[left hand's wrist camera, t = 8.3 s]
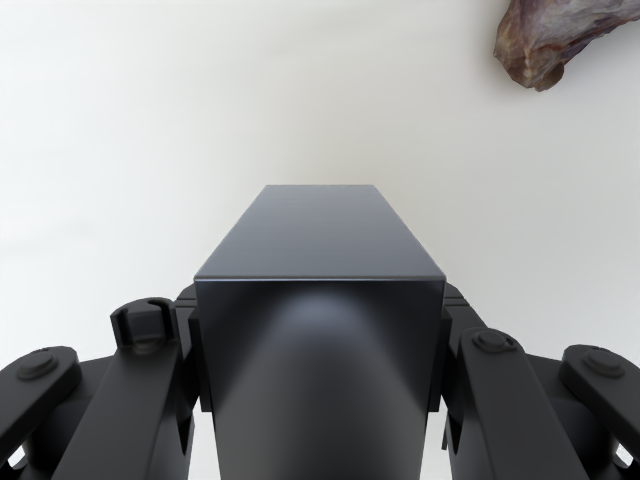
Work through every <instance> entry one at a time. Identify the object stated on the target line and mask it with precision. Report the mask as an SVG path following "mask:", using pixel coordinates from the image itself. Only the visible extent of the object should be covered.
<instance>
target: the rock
mask: <svg viewBox="0 0 640 480" xmlns="http://www.w3.org/2000/svg"><path fill="white" fill-rule="evenodd" d="M638 19H640V0H512V1H511V3H510V6H509V8H508V10H507V12H506V14H505V16H504V17H503V19H502V21H501V22H500V24H499V26H498V31H497V39H496V45H495V50H494V54H493V56H494V57H496V58H498V59H499V60H500V61H501V63H502V65H503V67H504V68H505V70H506V71H507V72H508V74H509V75H510V77H511V78H512V80H514V81H516V82H517V83H519V84H521V85H522V86H524V87H525V88H532V87H535V90H536V91H538V92H541V91H543V90H547V89H549V88H551V87H552V86H554V85H555V84H556V83H557V82H558V81H559V80H560V79H561V78H562V76H563V73H564V65H565V64H566V63H568V62H569V61H570V60H571V59H572V58H573V57H574V56H575V55H576V54H578V53H580V52H581V51H582V50H583V49H584V48H585V47H586V46H587V45H588V44H589V43H590V42H591V41H592V40H593V39H596V38H599V37H602V36H603V35H604V34H607V33H610V32H611V31H612V30H614V29H615V28H616V27H617V26H619V25H623V24H625V23H627V22H629V21H636V20H638Z"/></svg>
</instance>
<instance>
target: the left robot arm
mask: <svg viewBox="0 0 640 480" xmlns="http://www.w3.org/2000/svg"><path fill="white" fill-rule="evenodd" d="M110 319H111V323H112V327H113V331H114V335H115V339H116V343H117V350H116V352H115V354H114V355H113V356H109V357H104V358H99V359H94V360H89V361H84V362H79V360H78V356H77V353H76V351H75V350H73V349H72V348H71V347H65V346H57V347H47V348H42V349H41V350H40V349H39V350H36V351H33V352H31V353H29V354H27V355H25V356H23V357H20V358H19V359H17V360H15V361H14V362H12V363H11V364H9V365H8V366H6V367H5V368H4V369H2V370H1V371H0V480H188V473H189V466H190V458H191V450H192V443H193V435H194V428H195V425H194V417H193V408H194V406H195V404H196V401H197V399H198V397H199V398H200V404H201V411H202V412H212V411H211V403H210V396H209V389H208V382H207V374H206V367H205V360H204V352H203V345H202V338H201V331H200V323H199V316H198V309H197V302H196V294H195V287H194V283H193V284H192V285H190V286H188V287H187V288H185V289H184V290H183V291H182V292H181V293H180V295H179V296H178V297H177V300H175V301H174V302H173V301H171V300H170V299H166V298H162V297H151V298H145V299H139V300H136V301H133V302H130V303H127V304H125V305H123V306H122V307H120V308H118V309H116V310H115V311H114V312H113V313H112V314H111V315H110ZM441 394H442V397H443V399H444V401H445V404H446V406H447V408H448V411H447V417H446V423H445V429H444V435H443V441H442V449H443V450H446V449H447V443H448V450H449V457H450V465H451V472H452V480H640V369H639V368H638V367H637V366H636V365H634V364H633V363H631V362H630V361H628V360H627V359H625V358H623V357H622V356H620V355H618V354H615V353H613V352H611V351H609V350H607V349H604V348H599V347H597V346H590V345H580V344H579V345H572V346H569V347H568V348H567V349H565V350H564V354H563V357H562V361H559V360H554V359H549V358H544V357H539V356H534V355H530V354H526V353H525V351H524V349H523V348H522V346H521V345H520V344H519V343H518V341H517V340H515V339H514V338H512V337H511V336H509V335H508V334H506V333H503V332H501V331H498V330H496V329H491V328H488V327H487V326H486V325H485V323H484V322H483V321H482V320H481V318H480V317H479V316H478V315H477V313H476V312H475V311H474V309H473V308H472V307H471V306H470V304H469V303H468V302H467V301H466V299H464V297H463V296H462V294H461V293H460V292H459V290H458V289H457V288H455V287H454V286H452V285H451V284H449V283H447V282H446V288H445V295H444V302H443V310H442V317H441V324H440V332H439V339H438V346H437V354H436V361H435V369H434V376H433V383H432V391H431V398H430V405H429V412H439V406H440V399H441ZM619 444H621V445H622V446H623V447H624V448H625V449H626V450H627V451H628V452H629V453H630V455H631V456H632V457H633V461H632V463H631V465H630V466H628V465H627V464H625V463H624V462H623V461H622V460H621V459H620V458H619V457H618V455H617V454H616V451H617V449H618V446H619ZM21 445H22V448H23V450H24V453H25V456H24V457H23V458H22V459H21V460H20V461H19V462H18V463H17V464H16V465H14V466H13V467H11V466H10V465H9V462H8V459H9V458H10V457H11V455H12V454H13V453H14V452H15V451H16V450H17V449H18V448H19V447H20V446H21Z"/></svg>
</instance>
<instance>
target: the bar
mask: <svg viewBox="0 0 640 480" xmlns="http://www.w3.org/2000/svg"><path fill="white" fill-rule="evenodd" d="M193 280H194V287H195V294H196V302H197V309H198V316H199V323H200V331H201V338H202V345H203V352H204V360H205V367H206V374H207V382H208V389H209V396H210V403H211V411H212V418H213V425H214V432H215V440H216V447H217V454H218V462H219V469H220V476H221V480H419V479H420V471H421V464H422V457H423V449H424V442H425V435H426V427H427V420H428V413H429V405H430V398H431V391H432V383H433V376H434V369H435V361H436V354H437V346H438V339H439V332H440V324H441V317H442V310H443V302H444V295H445V288H446V280H447V279H446V276H445V275H444V273H443V272H442V271H441V269H440V268H439V267H438V266H437V264H436V263H435V262H434V261H433V259H432V258H431V257H430V256H429V254H428V253H427V252H426V251H425V249H424V248H423V247H422V245H421V244H420V243H419V242H418V240H417V239H416V238H415V237H414V235H413V234H412V233H411V232H410V230H409V229H408V228H407V227H406V225H405V224H404V223H403V221H402V220H401V219H400V218H399V216H398V215H397V214H396V213H395V211H394V210H393V209H392V208H391V206H390V205H389V204H388V203H387V201H386V200H385V199H384V197H383V196H382V195H381V194H380V192H379V191H378V190H377V189H376V187H375V186H374V185H266V186H265V188H264V189H263V190H262V191H261V193H260V194H259V195H258V196H257V198H256V199H255V200H254V201H253V203H252V204H251V205H250V207H249V208H248V209H247V210H246V212H245V213H244V214H243V215H242V217H241V218H240V219H239V220H238V222H237V223H236V224H235V225H234V227H233V228H232V229H231V231H230V232H229V233H228V234H227V236H226V237H225V238H224V239H223V241H222V242H221V243H220V244H219V246H218V247H217V248H216V249H215V251H214V252H213V253H212V255H211V256H210V257H209V258H208V260H207V261H206V262H205V263H204V265H203V266H202V267H201V268H200V270H199V271H198V272H197V273H196V275H195V276H194V279H193Z"/></svg>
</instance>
